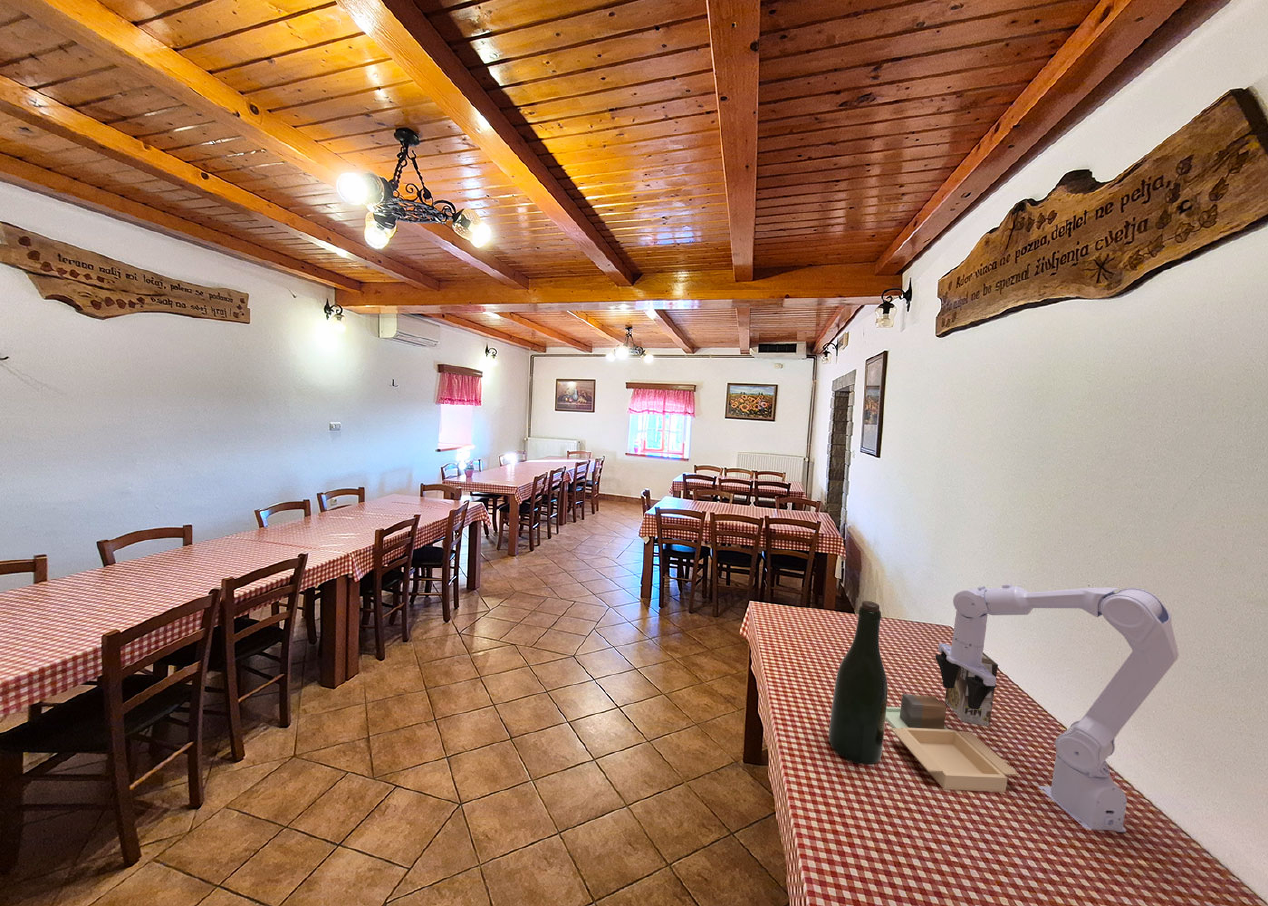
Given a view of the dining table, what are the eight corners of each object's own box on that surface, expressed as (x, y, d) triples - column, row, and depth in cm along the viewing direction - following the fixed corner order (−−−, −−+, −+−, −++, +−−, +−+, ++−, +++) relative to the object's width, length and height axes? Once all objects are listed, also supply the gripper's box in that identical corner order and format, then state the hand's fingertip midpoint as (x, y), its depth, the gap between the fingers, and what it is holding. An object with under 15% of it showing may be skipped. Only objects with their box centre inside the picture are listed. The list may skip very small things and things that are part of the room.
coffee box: (990, 729, 108) (999, 665, 107) (961, 723, 109) (969, 660, 108) (970, 706, 117) (978, 647, 116) (943, 701, 118) (951, 642, 117)
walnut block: (943, 731, 105) (946, 706, 104) (910, 729, 104) (913, 704, 104) (931, 719, 109) (934, 696, 108) (899, 717, 109) (902, 693, 108)
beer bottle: (851, 770, 91) (869, 614, 89) (817, 735, 101) (833, 594, 99) (892, 763, 94) (911, 612, 91) (855, 729, 104) (871, 592, 101)
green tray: (955, 742, 102) (956, 736, 102) (901, 740, 101) (901, 734, 101) (925, 713, 112) (926, 708, 112) (875, 711, 111) (876, 706, 111)
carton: (1019, 795, 88) (1022, 777, 88) (929, 791, 87) (931, 773, 87) (965, 745, 101) (967, 729, 101) (886, 741, 101) (888, 725, 100)
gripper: (929, 625, 109) (922, 678, 110) (976, 656, 94) (968, 717, 95) (956, 626, 109) (949, 679, 110) (1008, 658, 95) (1000, 719, 96)
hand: (960, 697), depth 103 cm, fingers open, 7 cm apart
